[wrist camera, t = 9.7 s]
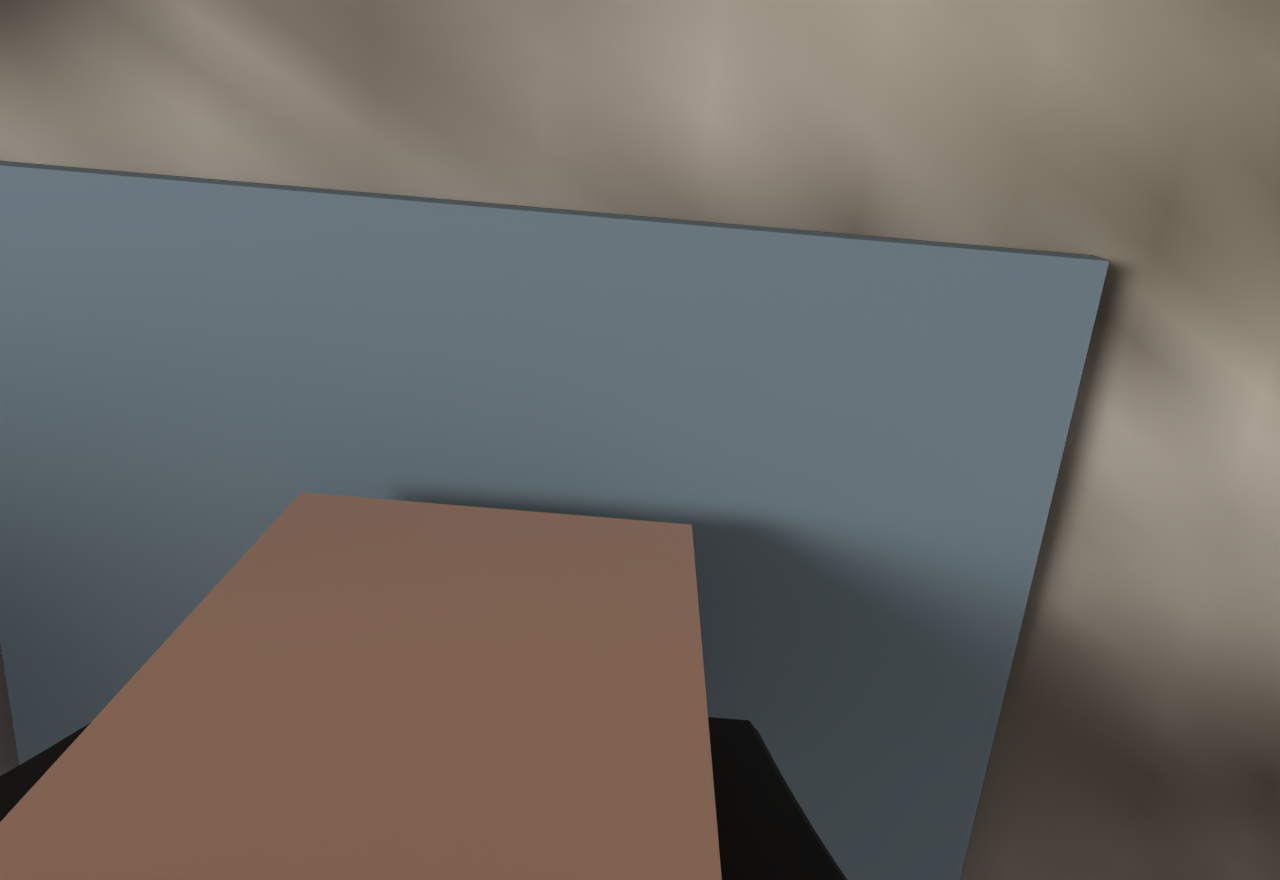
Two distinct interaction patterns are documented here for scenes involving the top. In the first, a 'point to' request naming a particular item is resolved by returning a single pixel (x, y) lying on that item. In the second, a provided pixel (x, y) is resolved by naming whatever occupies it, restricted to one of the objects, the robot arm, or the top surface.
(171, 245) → the slate mat
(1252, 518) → the top surface
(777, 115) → the top surface
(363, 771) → the terracotta block
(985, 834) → the top surface
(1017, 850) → the top surface
